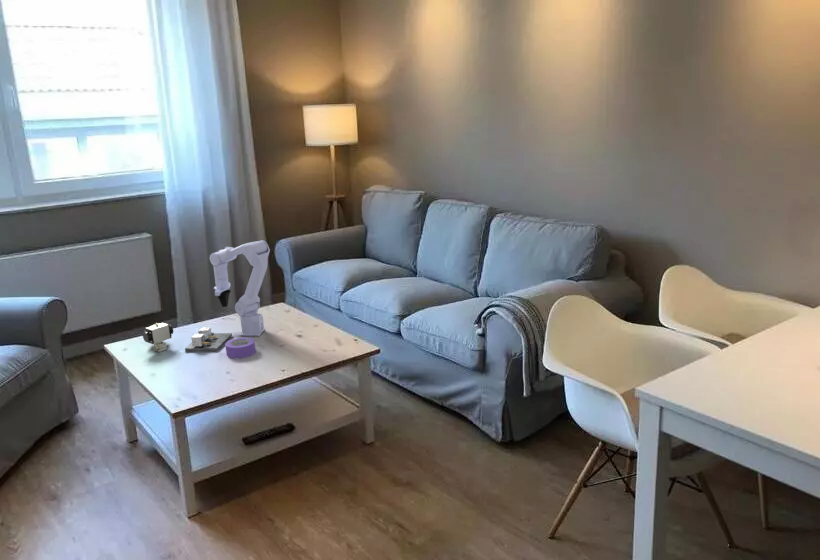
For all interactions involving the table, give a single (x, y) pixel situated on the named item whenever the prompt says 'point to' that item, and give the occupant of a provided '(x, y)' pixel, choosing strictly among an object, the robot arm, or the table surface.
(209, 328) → the sliding block
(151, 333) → the pneumatic valve
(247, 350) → the tape roll
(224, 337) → the bolt plate
